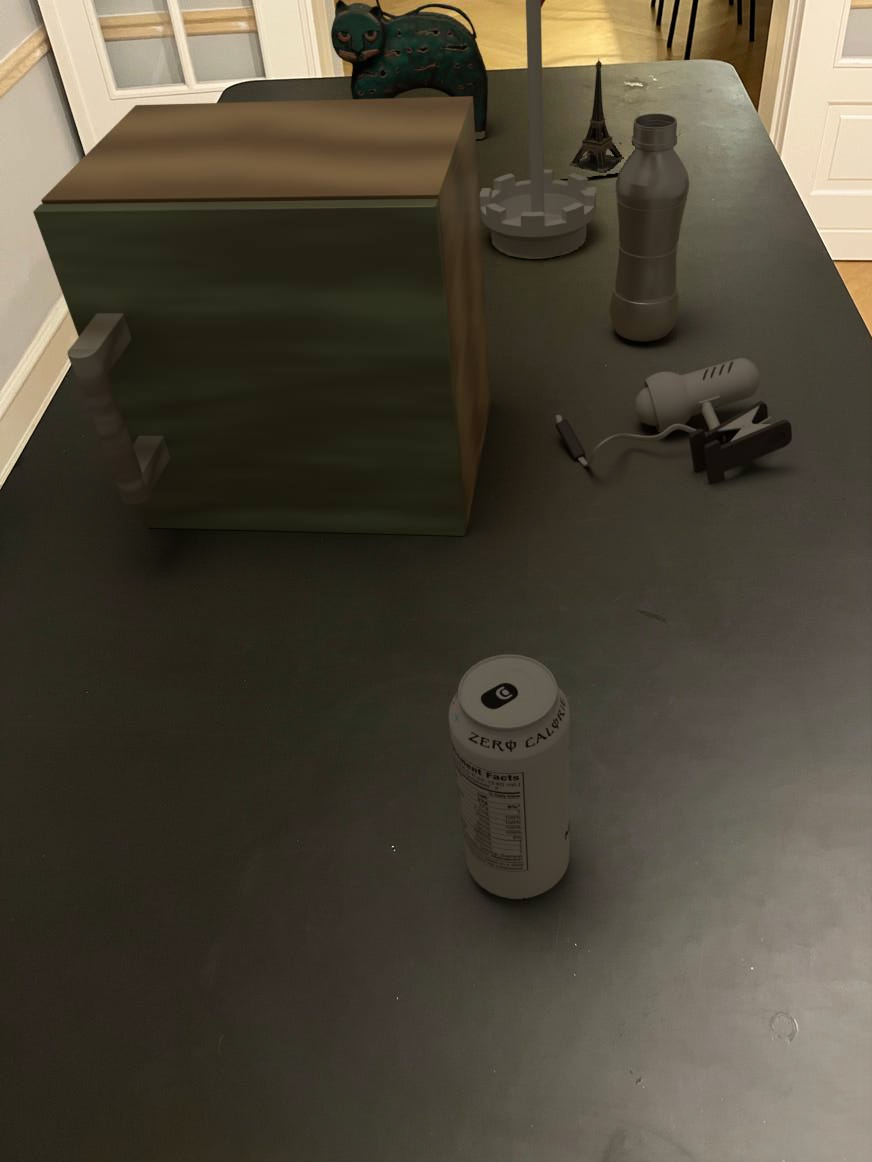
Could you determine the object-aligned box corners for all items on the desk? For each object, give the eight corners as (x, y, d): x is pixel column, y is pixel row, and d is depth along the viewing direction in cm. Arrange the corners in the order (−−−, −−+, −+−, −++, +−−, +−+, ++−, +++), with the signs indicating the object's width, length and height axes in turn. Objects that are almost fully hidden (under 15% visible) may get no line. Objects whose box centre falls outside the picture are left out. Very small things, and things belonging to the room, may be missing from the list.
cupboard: (467, 526, 83) (438, 194, 65) (153, 518, 87) (40, 199, 68) (491, 403, 96) (472, 96, 77) (216, 400, 99) (135, 104, 81)
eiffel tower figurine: (642, 144, 139) (648, 32, 130) (664, 172, 132) (672, 55, 122) (532, 157, 138) (530, 45, 129) (548, 186, 131) (547, 70, 121)
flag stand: (563, 272, 114) (562, -50, 93) (461, 252, 119) (438, -58, 98) (613, 225, 122) (623, -82, 100) (515, 208, 127) (505, -88, 106)
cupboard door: (455, 587, 78) (420, 249, 60) (121, 576, 81) (-9, 252, 63) (466, 526, 83) (438, 198, 65) (152, 519, 86) (39, 203, 68)
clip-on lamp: (584, 527, 87) (797, 464, 85) (569, 473, 82) (794, 404, 80) (558, 438, 94) (753, 378, 92) (543, 383, 90) (748, 319, 87)
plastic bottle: (622, 313, 107) (630, 104, 92) (685, 324, 104) (704, 111, 90) (599, 343, 103) (604, 129, 88) (664, 355, 100) (680, 138, 86)
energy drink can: (591, 870, 60) (595, 697, 50) (507, 927, 58) (493, 758, 47) (528, 803, 64) (520, 628, 53) (447, 854, 62) (421, 682, 51)
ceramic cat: (346, 153, 143) (322, -15, 129) (350, 136, 148) (327, -28, 133) (491, 143, 142) (482, -26, 128) (490, 127, 147) (482, -39, 133)
